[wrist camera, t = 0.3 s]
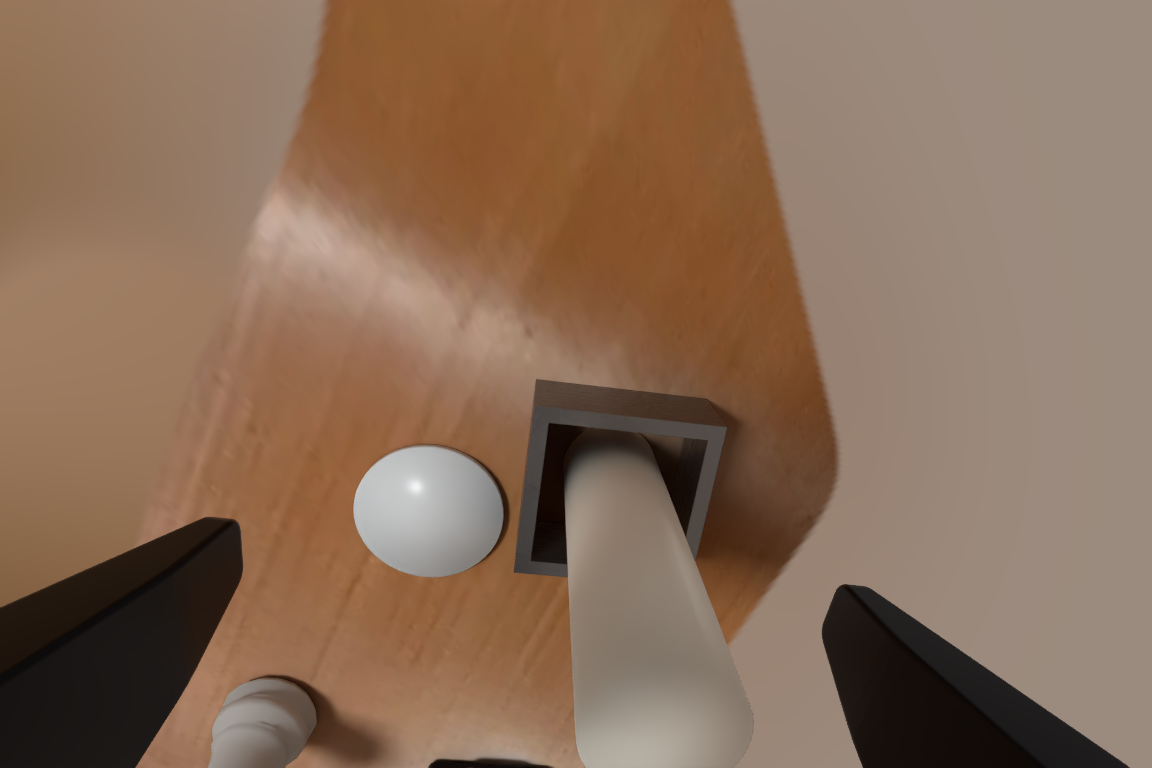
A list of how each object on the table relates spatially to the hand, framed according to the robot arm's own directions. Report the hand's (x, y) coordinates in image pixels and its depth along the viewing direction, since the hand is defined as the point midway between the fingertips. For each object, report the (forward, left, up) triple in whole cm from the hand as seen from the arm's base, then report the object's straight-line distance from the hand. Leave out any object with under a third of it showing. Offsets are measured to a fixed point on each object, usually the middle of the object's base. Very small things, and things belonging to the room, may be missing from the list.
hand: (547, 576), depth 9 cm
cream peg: (-6, -3, -15) cm, 17 cm away
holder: (-6, -3, -15) cm, 17 cm away
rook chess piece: (-21, +11, -16) cm, 28 cm away
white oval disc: (-9, +4, -15) cm, 18 cm away
